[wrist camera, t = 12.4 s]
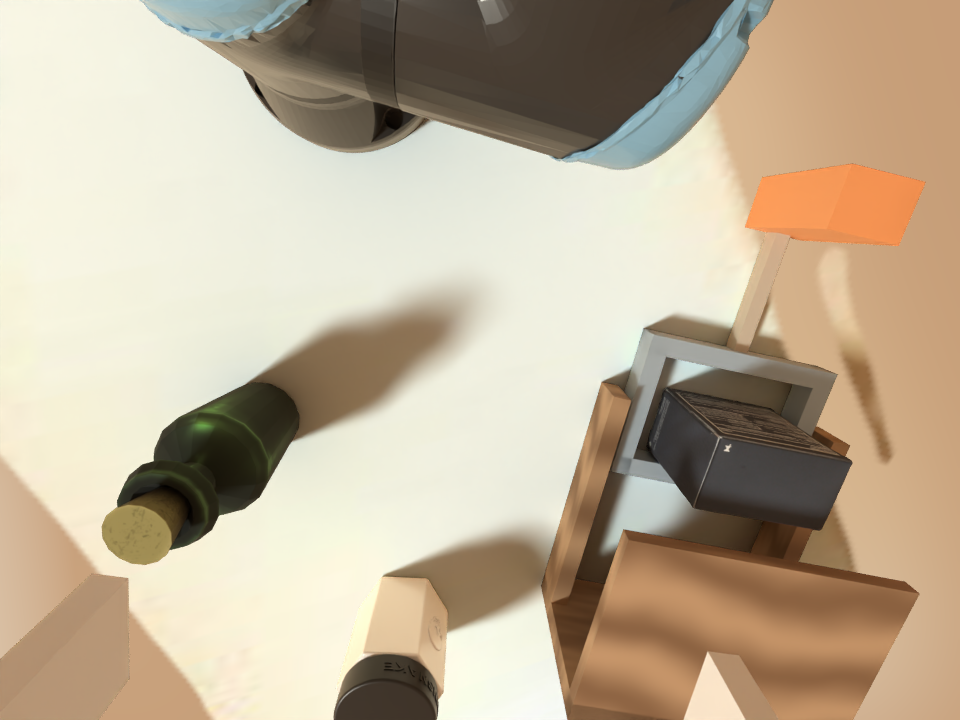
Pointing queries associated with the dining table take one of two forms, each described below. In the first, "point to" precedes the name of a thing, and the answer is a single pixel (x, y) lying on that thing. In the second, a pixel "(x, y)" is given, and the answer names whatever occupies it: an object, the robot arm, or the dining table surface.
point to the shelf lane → (707, 610)
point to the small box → (745, 460)
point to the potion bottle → (201, 472)
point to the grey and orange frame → (782, 215)
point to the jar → (395, 654)
